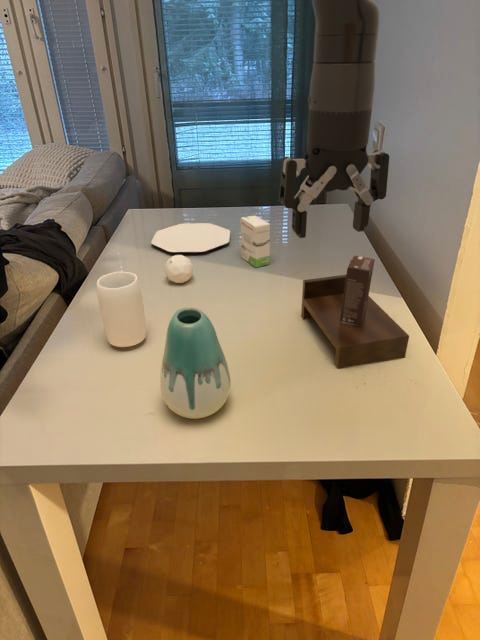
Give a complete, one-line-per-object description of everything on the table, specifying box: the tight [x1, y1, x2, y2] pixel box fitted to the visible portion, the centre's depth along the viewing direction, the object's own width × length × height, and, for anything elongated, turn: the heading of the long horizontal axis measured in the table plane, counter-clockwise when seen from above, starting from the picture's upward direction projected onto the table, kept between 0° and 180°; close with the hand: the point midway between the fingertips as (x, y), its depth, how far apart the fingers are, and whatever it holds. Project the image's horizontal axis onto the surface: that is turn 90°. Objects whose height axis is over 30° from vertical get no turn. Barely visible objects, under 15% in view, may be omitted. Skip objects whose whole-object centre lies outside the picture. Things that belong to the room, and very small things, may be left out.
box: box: [340, 255, 376, 326], centre depth 90 cm, size 6×4×12 cm
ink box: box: [240, 215, 271, 268], centre depth 127 cm, size 9×5×12 cm, turn 27°
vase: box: [159, 307, 231, 420], centre depth 75 cm, size 12×12×18 cm
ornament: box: [164, 254, 194, 284], centre depth 118 cm, size 7×7×8 cm
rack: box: [300, 274, 410, 370], centre depth 95 cm, size 14×20×9 cm
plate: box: [150, 222, 231, 254], centre depth 144 cm, size 24×24×2 cm
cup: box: [96, 271, 147, 348], centre depth 93 cm, size 8×8×14 cm
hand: (329, 232), depth 64 cm, fingers open, 8 cm apart
